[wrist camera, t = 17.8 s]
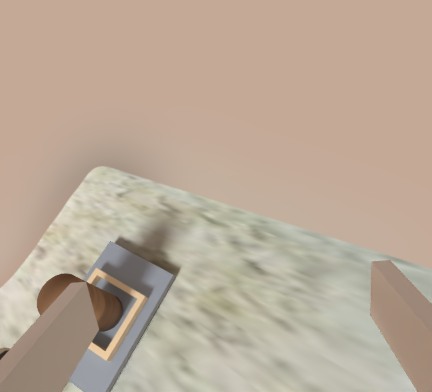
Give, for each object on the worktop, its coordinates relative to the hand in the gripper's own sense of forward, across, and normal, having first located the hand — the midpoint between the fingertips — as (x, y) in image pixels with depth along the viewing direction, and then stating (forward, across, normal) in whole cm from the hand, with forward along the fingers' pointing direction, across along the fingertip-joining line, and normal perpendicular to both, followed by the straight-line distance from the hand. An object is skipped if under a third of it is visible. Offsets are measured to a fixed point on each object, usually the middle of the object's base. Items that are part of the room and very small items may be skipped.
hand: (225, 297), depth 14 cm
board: (+25, -20, -19) cm, 37 cm away
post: (+24, -20, -18) cm, 36 cm away
